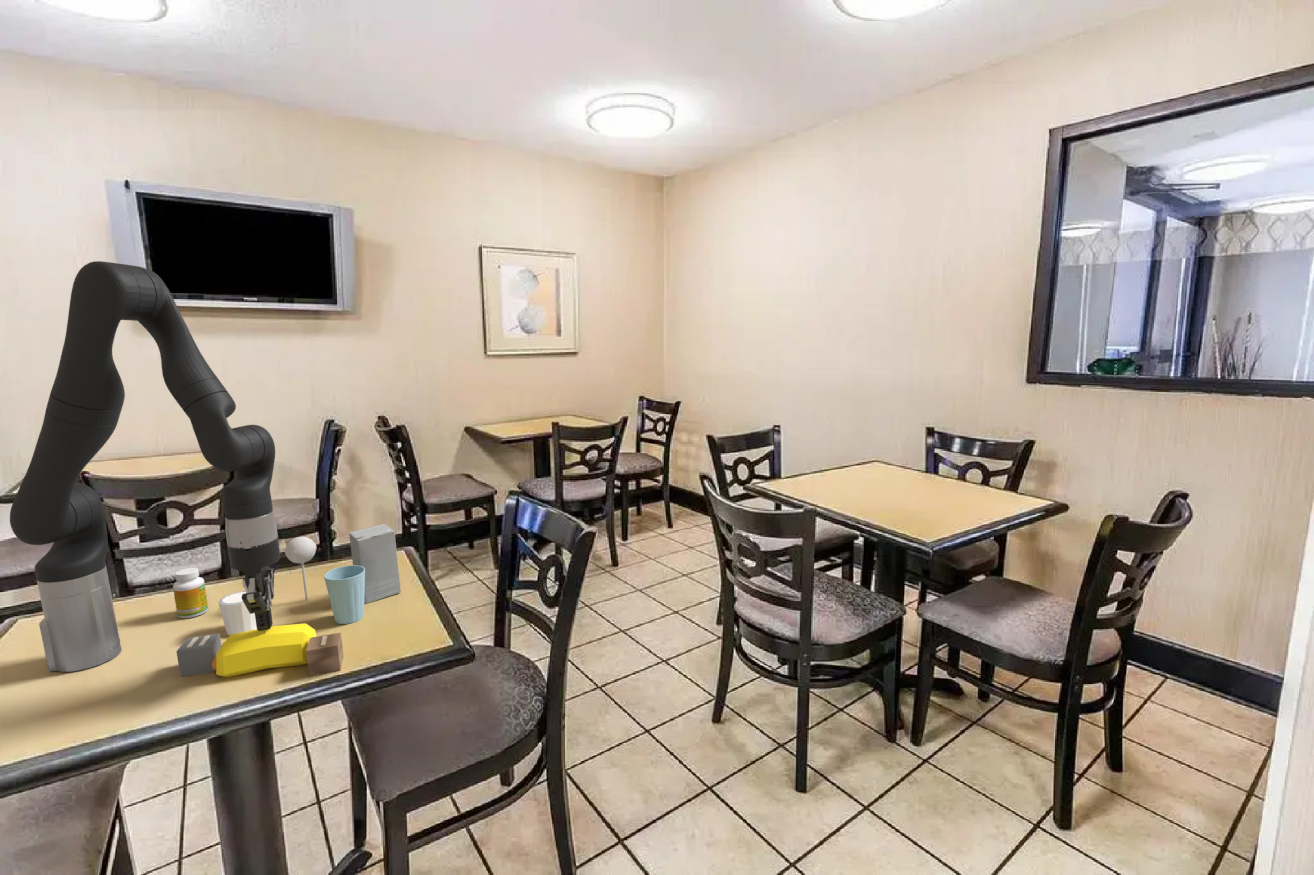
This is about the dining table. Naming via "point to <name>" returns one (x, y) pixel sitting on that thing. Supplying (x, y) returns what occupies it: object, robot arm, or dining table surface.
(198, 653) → the charcoal numbered block
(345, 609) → the cup
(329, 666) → the walnut numbered block
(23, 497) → the robot arm
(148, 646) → the dining table surface
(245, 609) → the shot glass
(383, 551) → the skincare box
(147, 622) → the dining table surface
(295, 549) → the lollipop
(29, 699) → the dining table surface
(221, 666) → the yellow banana
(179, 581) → the supplement bottle
